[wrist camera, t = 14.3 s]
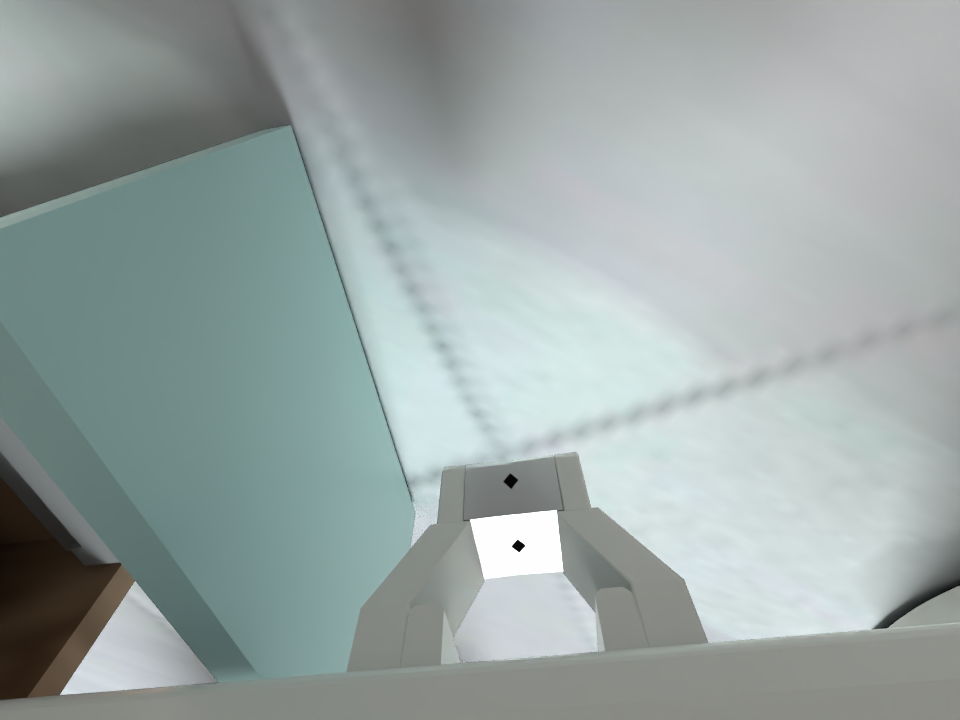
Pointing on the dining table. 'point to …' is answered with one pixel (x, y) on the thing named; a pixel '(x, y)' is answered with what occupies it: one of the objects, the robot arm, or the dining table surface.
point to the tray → (203, 404)
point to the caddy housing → (47, 604)
